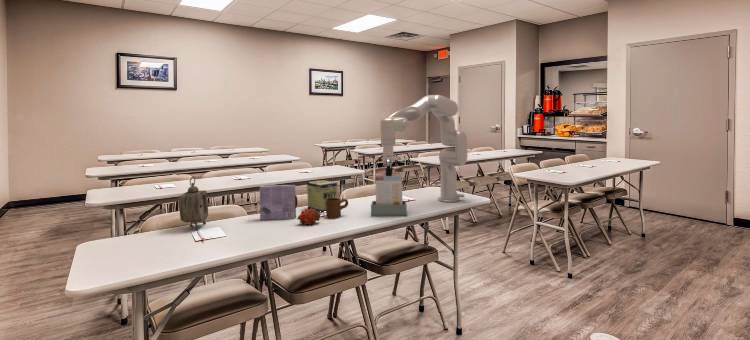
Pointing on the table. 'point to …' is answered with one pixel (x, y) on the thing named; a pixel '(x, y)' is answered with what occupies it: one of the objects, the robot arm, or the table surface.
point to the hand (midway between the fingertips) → (389, 174)
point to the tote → (389, 209)
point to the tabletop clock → (193, 205)
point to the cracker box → (388, 189)
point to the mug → (335, 207)
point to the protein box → (320, 194)
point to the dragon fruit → (309, 216)
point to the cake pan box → (278, 202)
